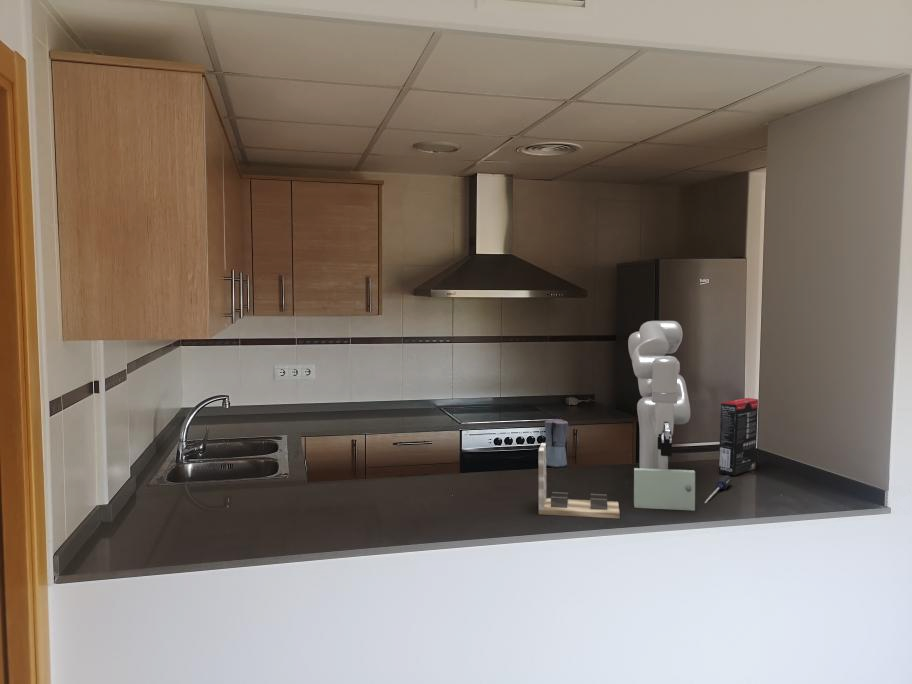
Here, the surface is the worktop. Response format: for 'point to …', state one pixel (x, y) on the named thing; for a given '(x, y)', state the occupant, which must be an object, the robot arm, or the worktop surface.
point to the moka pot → (556, 442)
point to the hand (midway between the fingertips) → (664, 452)
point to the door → (664, 489)
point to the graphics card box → (738, 436)
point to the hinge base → (570, 507)
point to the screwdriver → (721, 485)
